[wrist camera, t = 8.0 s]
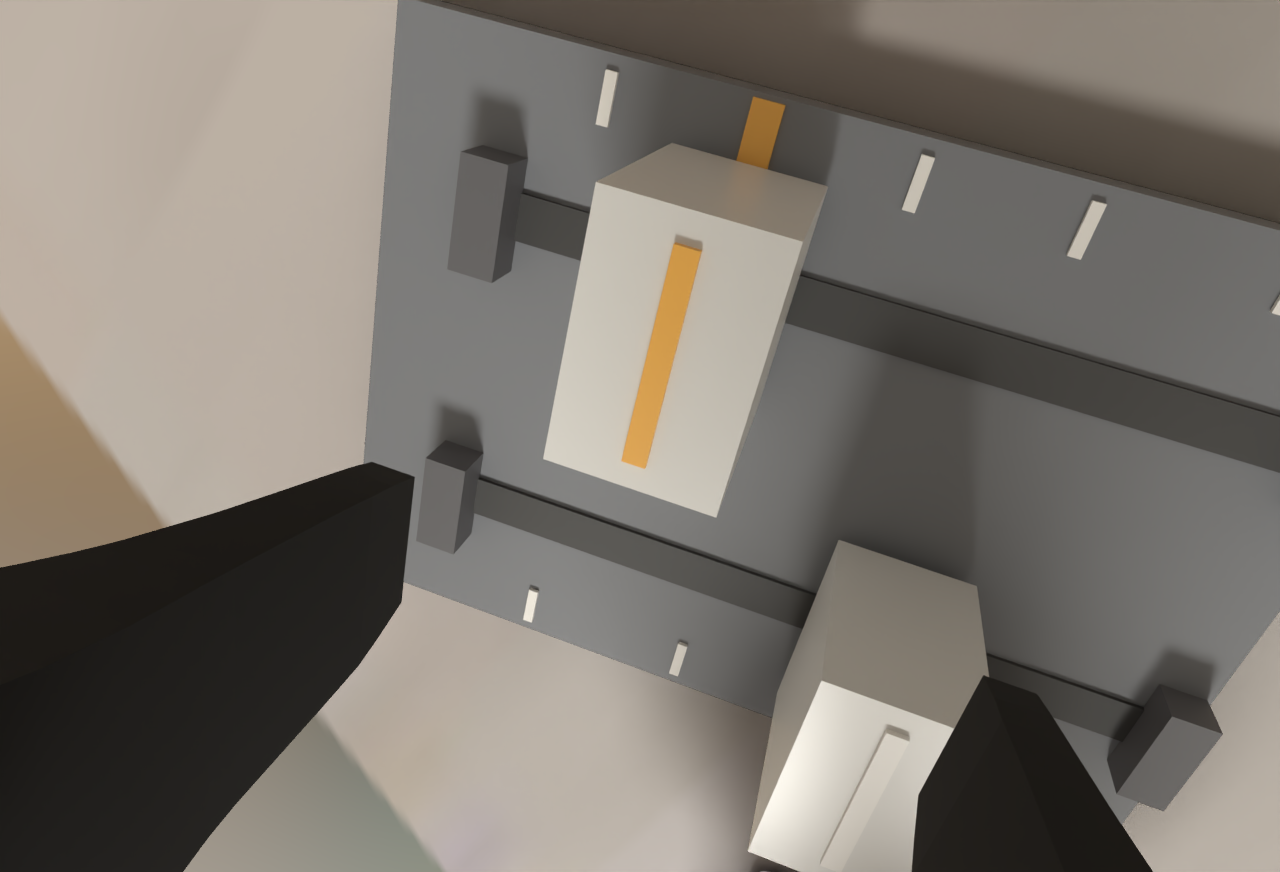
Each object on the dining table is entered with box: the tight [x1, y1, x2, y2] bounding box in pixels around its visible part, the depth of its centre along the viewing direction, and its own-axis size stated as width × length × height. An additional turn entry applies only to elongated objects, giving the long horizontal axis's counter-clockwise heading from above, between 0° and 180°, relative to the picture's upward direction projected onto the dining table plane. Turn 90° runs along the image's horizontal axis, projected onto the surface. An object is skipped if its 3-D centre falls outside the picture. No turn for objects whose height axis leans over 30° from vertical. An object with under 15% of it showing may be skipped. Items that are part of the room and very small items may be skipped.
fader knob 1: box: [543, 143, 828, 517], centre depth 15 cm, size 5×3×5 cm, turn 167°
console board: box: [364, 0, 1280, 825], centre depth 19 cm, size 14×20×2 cm
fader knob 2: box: [748, 540, 989, 872], centre depth 17 cm, size 5×3×5 cm, turn 167°
